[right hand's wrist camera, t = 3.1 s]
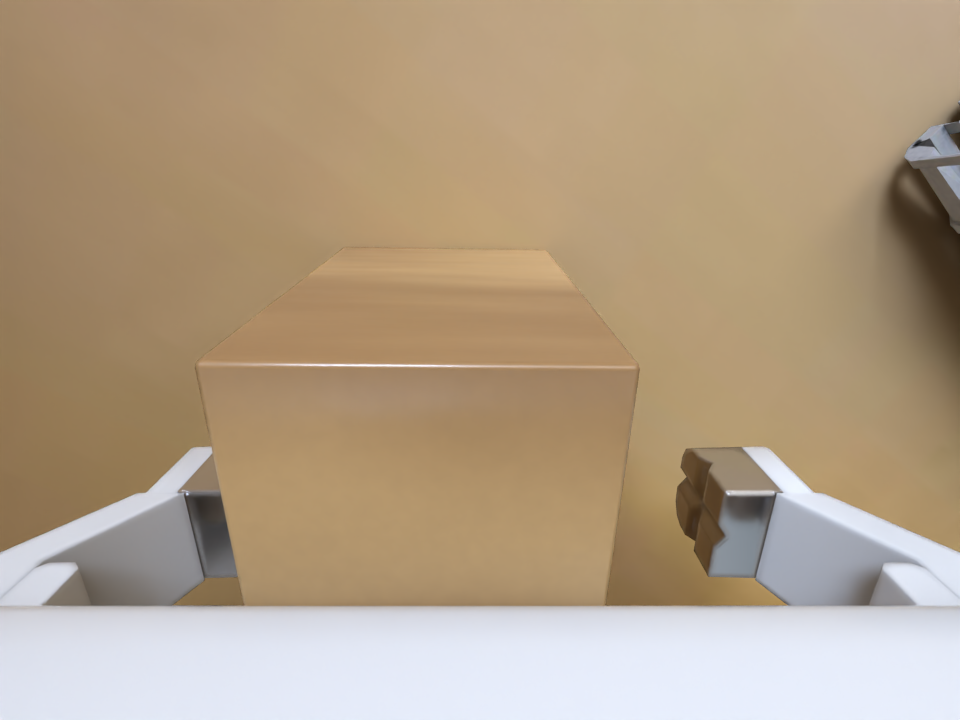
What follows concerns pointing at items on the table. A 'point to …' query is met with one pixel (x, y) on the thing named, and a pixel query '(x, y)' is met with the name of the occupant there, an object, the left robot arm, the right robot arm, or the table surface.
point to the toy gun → (940, 166)
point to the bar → (422, 434)
